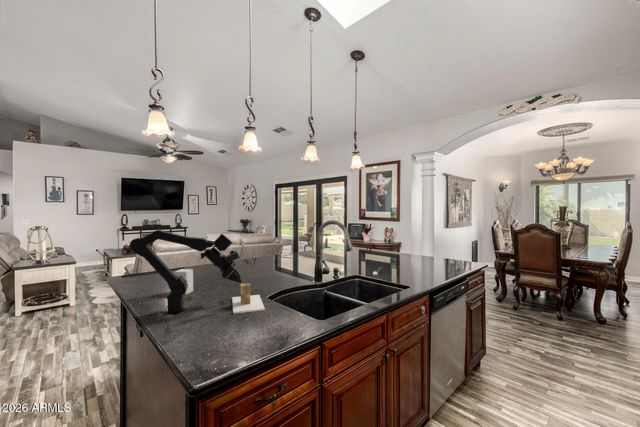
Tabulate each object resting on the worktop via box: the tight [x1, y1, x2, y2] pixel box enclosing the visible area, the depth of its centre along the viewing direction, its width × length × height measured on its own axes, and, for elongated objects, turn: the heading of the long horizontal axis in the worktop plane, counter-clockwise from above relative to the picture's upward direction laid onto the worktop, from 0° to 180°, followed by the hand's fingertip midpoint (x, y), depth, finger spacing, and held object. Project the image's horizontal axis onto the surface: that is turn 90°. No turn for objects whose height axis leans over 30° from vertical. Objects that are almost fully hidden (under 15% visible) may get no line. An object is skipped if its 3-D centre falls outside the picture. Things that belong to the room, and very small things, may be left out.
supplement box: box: [173, 268, 194, 295], centre depth 155 cm, size 7×7×13 cm
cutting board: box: [231, 294, 266, 314], centre depth 137 cm, size 14×22×1 cm, turn 19°
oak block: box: [240, 282, 251, 305], centre depth 136 cm, size 4×4×9 cm
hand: (240, 279), depth 135 cm, fingers open, 9 cm apart
